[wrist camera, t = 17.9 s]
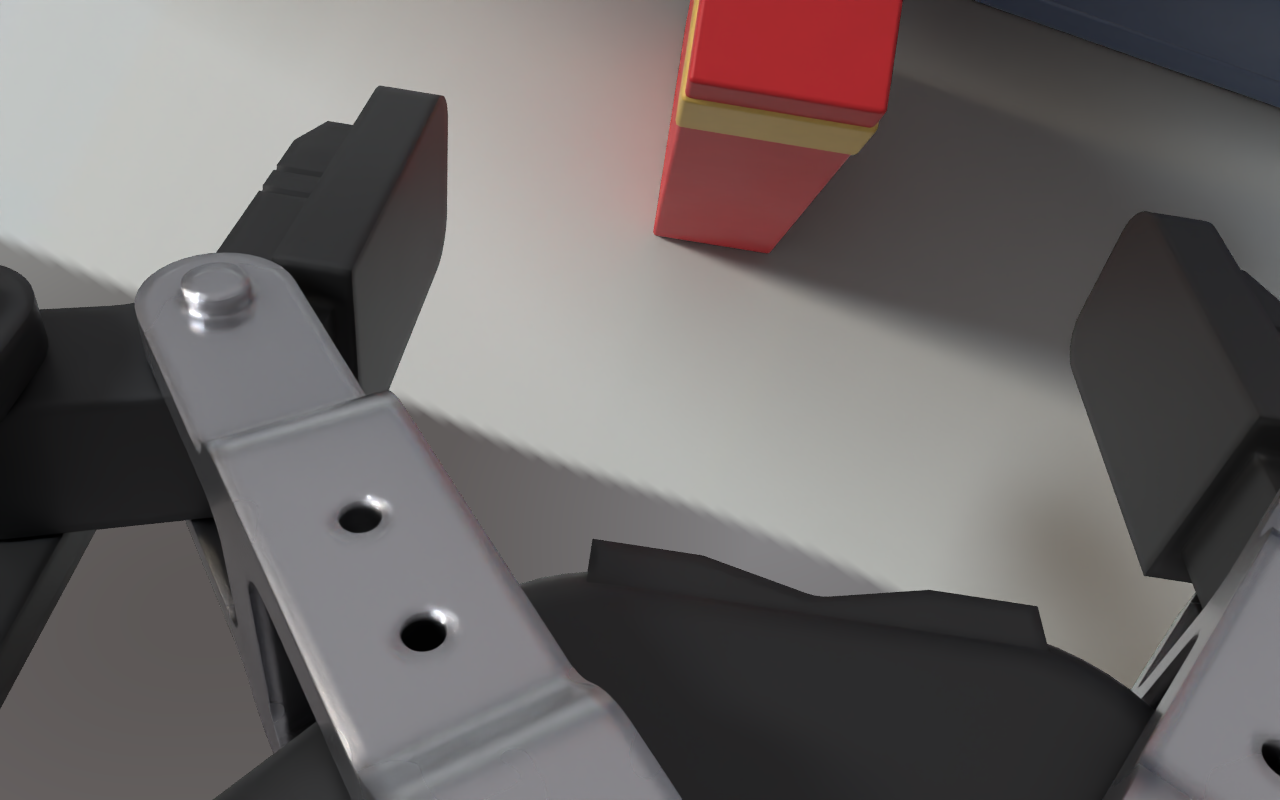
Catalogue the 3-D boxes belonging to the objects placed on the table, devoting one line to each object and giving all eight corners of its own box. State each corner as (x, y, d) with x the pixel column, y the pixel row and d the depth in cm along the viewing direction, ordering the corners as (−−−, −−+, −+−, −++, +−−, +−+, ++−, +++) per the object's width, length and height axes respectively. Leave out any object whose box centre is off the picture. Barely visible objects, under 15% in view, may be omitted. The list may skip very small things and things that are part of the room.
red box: (650, 237, 23) (683, 84, 13) (683, 20, 23) (740, -282, 14) (771, 257, 23) (890, 118, 13) (804, 40, 23) (943, -245, 14)
